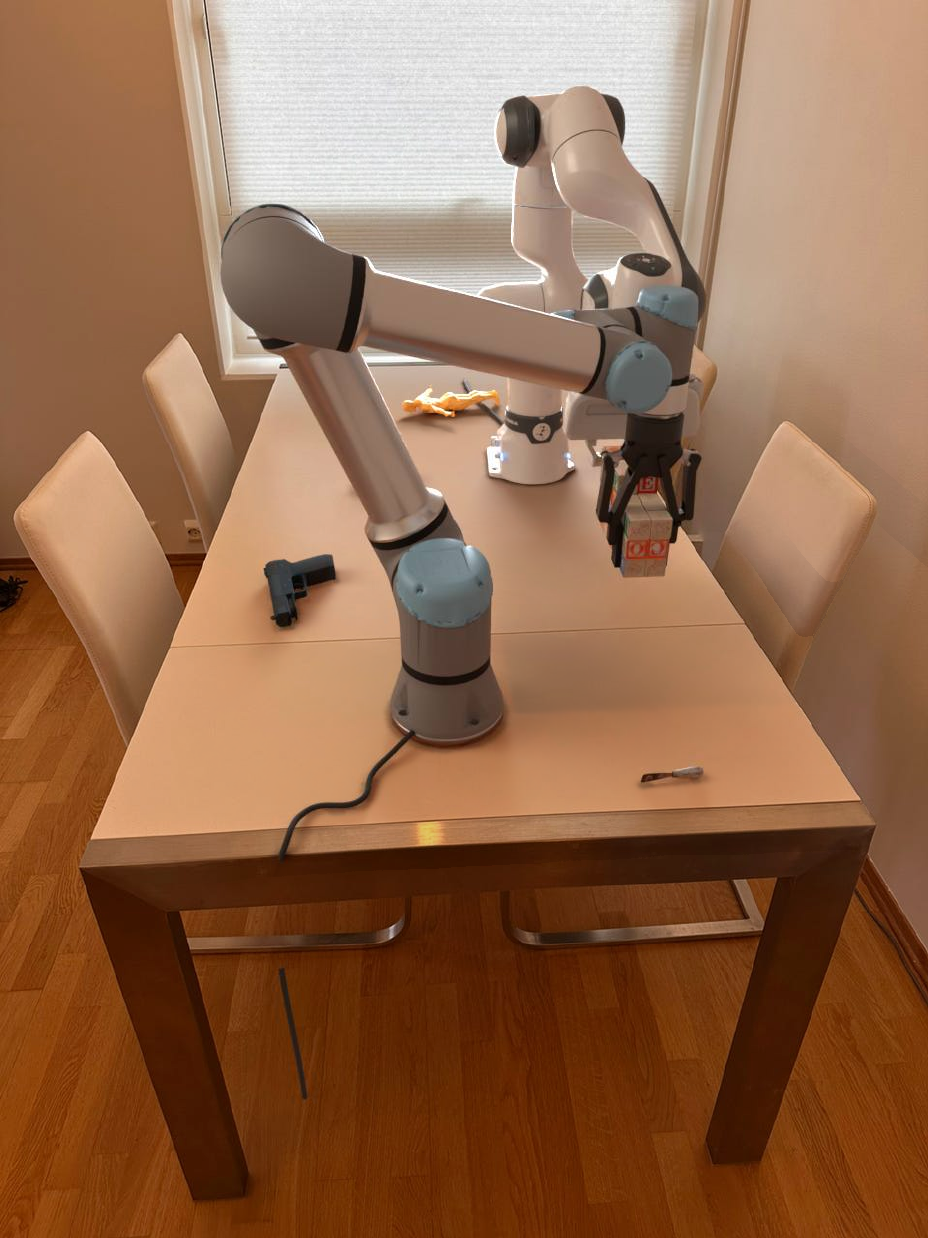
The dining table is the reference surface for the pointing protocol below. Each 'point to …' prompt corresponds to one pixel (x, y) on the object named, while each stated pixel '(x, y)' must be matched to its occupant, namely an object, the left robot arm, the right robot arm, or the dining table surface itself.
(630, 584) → the dining table surface
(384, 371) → the dining table surface
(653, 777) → the putty knife
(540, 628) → the dining table surface
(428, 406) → the human figure
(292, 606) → the handgun
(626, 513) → the stack of blocks
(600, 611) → the dining table surface
